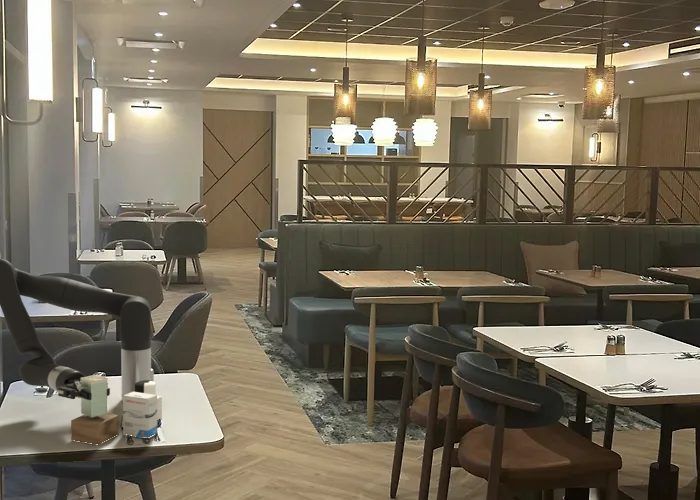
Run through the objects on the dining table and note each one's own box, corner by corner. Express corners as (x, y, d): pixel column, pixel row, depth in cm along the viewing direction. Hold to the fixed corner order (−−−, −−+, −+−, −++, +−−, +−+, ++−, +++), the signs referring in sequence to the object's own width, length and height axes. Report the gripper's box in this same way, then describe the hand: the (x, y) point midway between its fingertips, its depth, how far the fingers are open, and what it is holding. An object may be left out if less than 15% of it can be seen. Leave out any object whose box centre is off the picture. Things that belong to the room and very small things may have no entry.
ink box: (158, 434, 226) (158, 394, 224) (148, 440, 221) (148, 399, 220) (132, 430, 228) (132, 390, 227) (122, 435, 224) (122, 395, 222)
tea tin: (97, 408, 224) (97, 374, 223) (107, 413, 221) (107, 378, 220) (80, 413, 220) (80, 377, 219) (91, 417, 217) (90, 381, 216)
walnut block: (92, 431, 227) (92, 410, 227) (118, 435, 224) (118, 415, 224) (71, 441, 219) (71, 420, 218) (98, 446, 216) (98, 425, 215)
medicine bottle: (128, 422, 234) (127, 383, 233) (142, 415, 241) (142, 377, 240) (148, 426, 232) (148, 386, 231) (162, 418, 239) (162, 380, 237)
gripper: (43, 373, 223) (75, 386, 212) (89, 364, 234) (122, 376, 223) (43, 399, 224) (76, 413, 213) (89, 388, 235) (122, 402, 224)
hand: (99, 394), depth 218 cm, fingers closed on tea tin, 5 cm apart
